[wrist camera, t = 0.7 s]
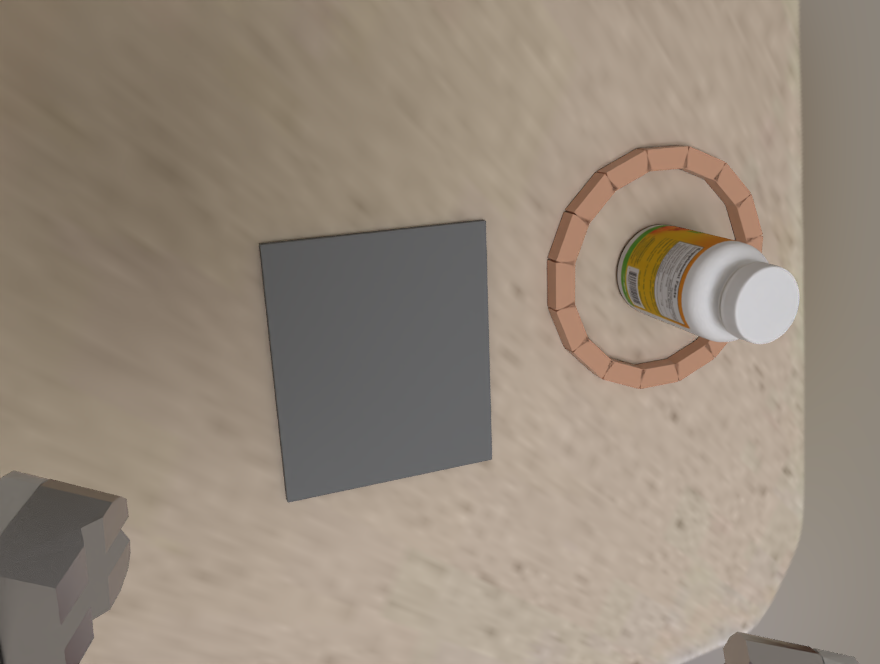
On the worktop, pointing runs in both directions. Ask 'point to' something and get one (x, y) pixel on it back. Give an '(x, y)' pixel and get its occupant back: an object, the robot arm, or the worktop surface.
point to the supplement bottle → (707, 285)
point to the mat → (379, 354)
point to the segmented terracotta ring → (575, 231)
